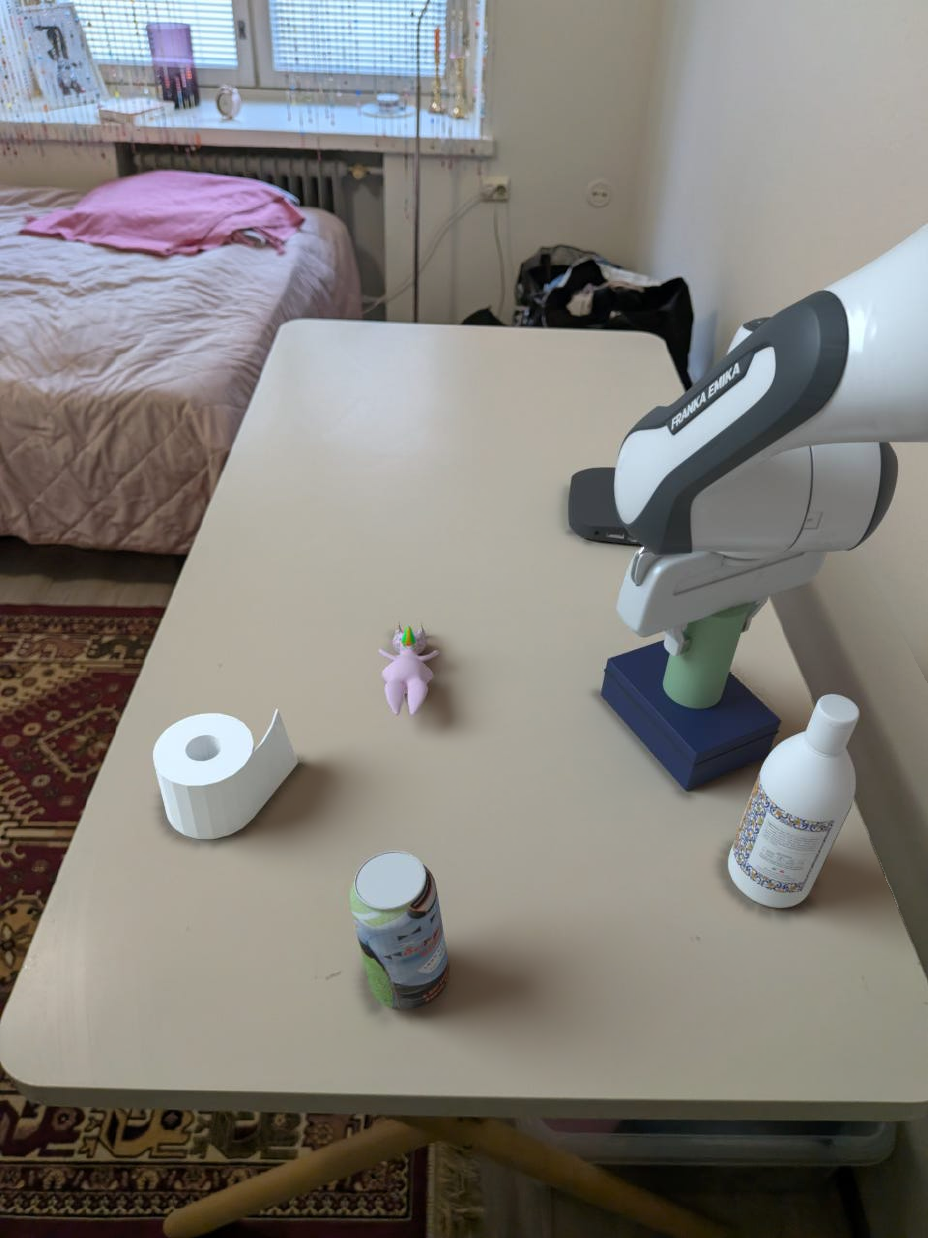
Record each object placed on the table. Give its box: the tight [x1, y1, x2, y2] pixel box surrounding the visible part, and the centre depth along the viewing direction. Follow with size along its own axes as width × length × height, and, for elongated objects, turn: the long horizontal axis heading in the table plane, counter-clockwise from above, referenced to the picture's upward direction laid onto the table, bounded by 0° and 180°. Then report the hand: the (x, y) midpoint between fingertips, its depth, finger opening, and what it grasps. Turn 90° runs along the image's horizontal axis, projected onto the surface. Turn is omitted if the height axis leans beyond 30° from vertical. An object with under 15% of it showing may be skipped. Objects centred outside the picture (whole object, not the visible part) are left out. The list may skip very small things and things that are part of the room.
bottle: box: [663, 603, 749, 709], centre depth 84 cm, size 6×6×16 cm
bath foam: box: [727, 693, 860, 909], centre depth 72 cm, size 7×7×20 cm
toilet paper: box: [152, 708, 299, 840], centre depth 81 cm, size 8×11×7 cm
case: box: [600, 639, 782, 792], centre depth 90 cm, size 14×10×5 cm
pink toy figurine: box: [378, 621, 440, 717], centre depth 93 cm, size 6×6×15 cm
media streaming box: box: [567, 466, 642, 546], centre depth 120 cm, size 15×15×3 cm
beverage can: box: [348, 850, 450, 1011], centre depth 66 cm, size 6×7×12 cm
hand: (706, 639), depth 85 cm, fingers closed on bottle, 5 cm apart
